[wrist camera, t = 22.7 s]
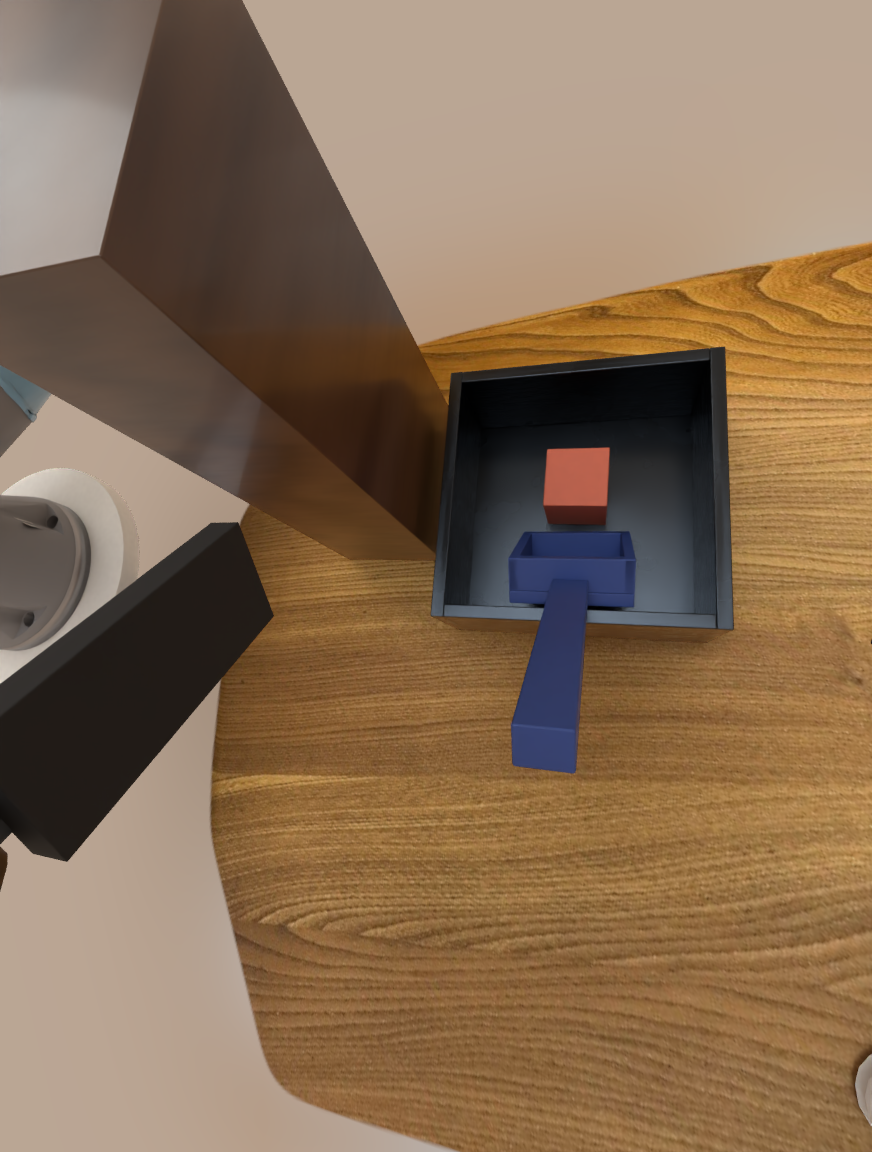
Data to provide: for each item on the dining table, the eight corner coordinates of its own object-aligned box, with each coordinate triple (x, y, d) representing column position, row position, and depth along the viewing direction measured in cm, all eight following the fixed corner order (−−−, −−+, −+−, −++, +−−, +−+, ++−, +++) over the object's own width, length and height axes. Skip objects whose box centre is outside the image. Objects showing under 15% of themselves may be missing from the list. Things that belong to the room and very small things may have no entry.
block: (551, 472, 39) (547, 524, 38) (546, 448, 35) (542, 505, 34) (608, 471, 37) (605, 525, 37) (610, 447, 34) (607, 506, 33)
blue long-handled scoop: (438, 757, 18) (432, 683, 17) (524, 569, 38) (524, 531, 37) (662, 786, 16) (668, 703, 15) (628, 571, 36) (629, 531, 35)
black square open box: (459, 630, 39) (430, 616, 32) (474, 424, 42) (451, 372, 35) (706, 643, 34) (734, 629, 27) (701, 409, 37) (725, 346, 30)
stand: (349, 559, 43) (-117, 301, 15) (365, 424, 45) (-10, -18, 17) (442, 560, 40) (100, 256, 12) (454, 418, 43) (188, -107, 15)
